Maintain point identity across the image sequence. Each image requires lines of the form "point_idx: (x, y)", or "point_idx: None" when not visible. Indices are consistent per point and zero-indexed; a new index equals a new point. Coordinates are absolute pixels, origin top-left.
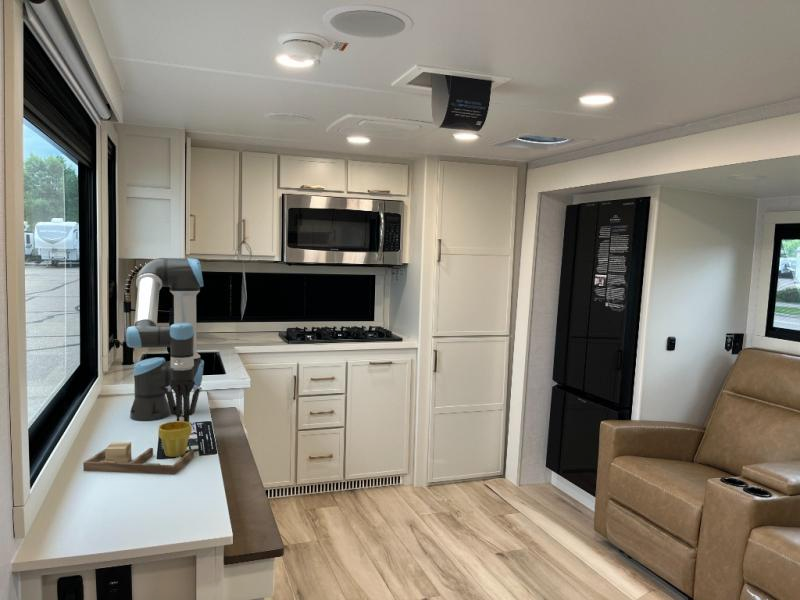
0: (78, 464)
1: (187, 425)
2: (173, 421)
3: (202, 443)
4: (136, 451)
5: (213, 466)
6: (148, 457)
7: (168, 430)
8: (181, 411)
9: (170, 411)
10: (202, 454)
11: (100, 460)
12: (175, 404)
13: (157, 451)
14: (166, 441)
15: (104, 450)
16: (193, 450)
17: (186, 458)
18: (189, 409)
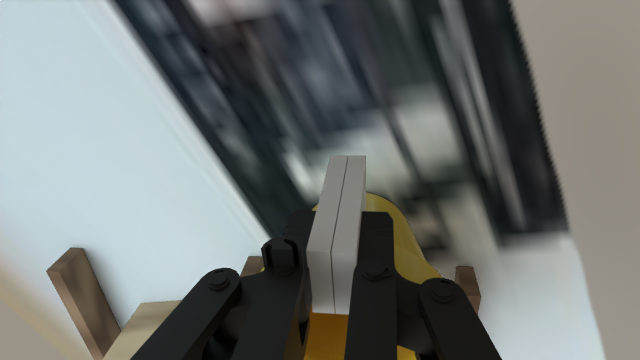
0: (70, 335)
1: None
2: None
3: (460, 60)
4: (157, 220)
5: (599, 352)
6: None
7: None
8: (298, 301)
9: (204, 349)
10: (511, 235)
11: (111, 318)
12: (183, 356)
13: (252, 213)
14: (334, 352)
15: (76, 312)
16: (479, 297)
17: None
18: (395, 318)
